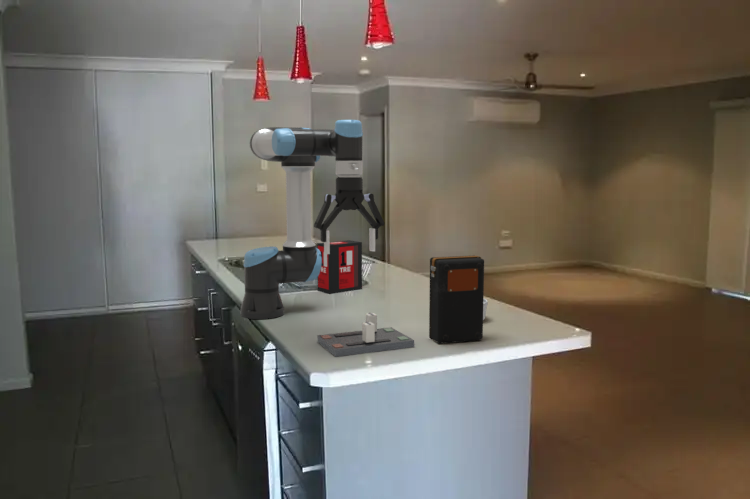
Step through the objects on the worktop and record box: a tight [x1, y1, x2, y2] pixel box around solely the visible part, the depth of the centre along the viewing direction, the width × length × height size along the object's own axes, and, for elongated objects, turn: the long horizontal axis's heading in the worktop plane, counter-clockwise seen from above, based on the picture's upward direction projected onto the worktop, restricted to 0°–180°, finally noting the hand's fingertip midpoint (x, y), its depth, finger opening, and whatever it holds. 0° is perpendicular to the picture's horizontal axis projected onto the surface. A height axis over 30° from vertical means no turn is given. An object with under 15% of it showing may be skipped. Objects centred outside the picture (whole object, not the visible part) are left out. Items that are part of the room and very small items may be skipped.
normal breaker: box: [364, 312, 378, 332], centre depth 190 cm, size 3×2×5 cm
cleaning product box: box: [316, 239, 363, 295], centre depth 265 cm, size 16×9×20 cm, turn 129°
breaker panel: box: [316, 326, 415, 358], centre depth 185 cm, size 16×24×2 cm, turn 113°
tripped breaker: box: [361, 321, 375, 343], centre depth 179 cm, size 3×2×5 cm
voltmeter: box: [428, 254, 485, 344], centre depth 188 cm, size 16×9×25 cm, turn 107°
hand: (349, 252), depth 179 cm, fingers open, 13 cm apart
